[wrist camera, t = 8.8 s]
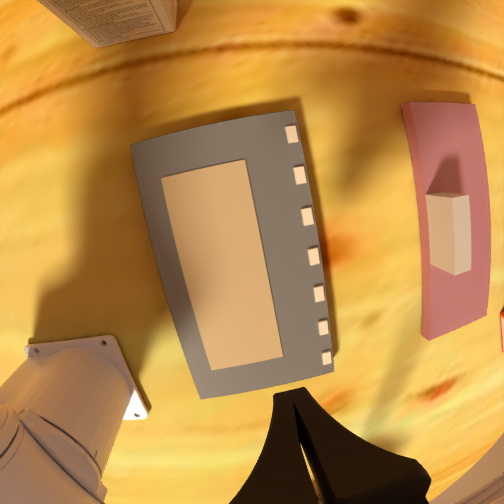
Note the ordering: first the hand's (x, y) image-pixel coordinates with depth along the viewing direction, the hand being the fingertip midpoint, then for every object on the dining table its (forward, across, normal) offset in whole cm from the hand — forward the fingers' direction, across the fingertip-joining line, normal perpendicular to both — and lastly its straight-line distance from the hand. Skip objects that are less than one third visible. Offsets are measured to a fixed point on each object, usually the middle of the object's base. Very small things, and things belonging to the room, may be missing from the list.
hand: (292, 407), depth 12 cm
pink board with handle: (+9, -16, -4) cm, 19 cm away
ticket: (+9, +1, -4) cm, 10 cm away
